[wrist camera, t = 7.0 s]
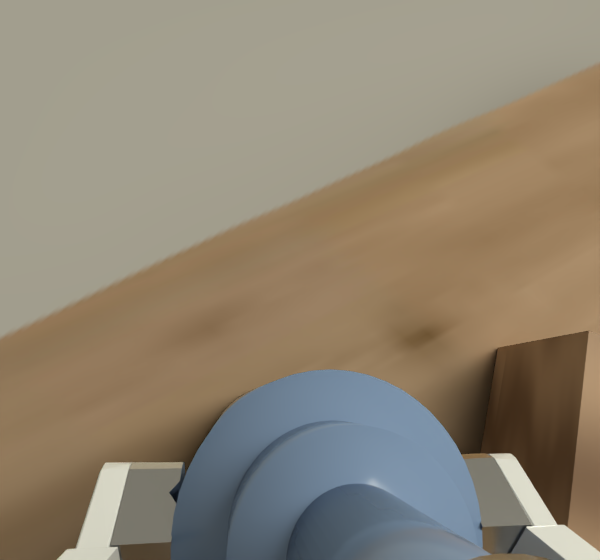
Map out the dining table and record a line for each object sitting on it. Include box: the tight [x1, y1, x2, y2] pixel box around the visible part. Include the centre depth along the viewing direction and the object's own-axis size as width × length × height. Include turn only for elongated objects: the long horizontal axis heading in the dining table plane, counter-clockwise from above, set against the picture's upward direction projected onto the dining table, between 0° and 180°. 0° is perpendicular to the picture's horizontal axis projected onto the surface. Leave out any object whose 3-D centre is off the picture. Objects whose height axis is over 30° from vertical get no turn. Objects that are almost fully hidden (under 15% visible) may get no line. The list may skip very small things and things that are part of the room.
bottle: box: [171, 370, 550, 560], centre depth 10 cm, size 5×5×18 cm
